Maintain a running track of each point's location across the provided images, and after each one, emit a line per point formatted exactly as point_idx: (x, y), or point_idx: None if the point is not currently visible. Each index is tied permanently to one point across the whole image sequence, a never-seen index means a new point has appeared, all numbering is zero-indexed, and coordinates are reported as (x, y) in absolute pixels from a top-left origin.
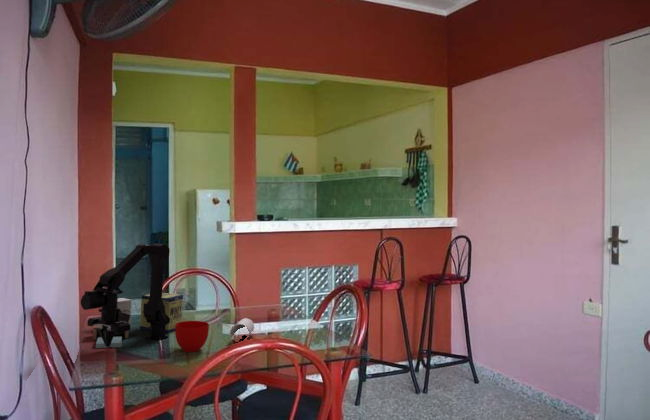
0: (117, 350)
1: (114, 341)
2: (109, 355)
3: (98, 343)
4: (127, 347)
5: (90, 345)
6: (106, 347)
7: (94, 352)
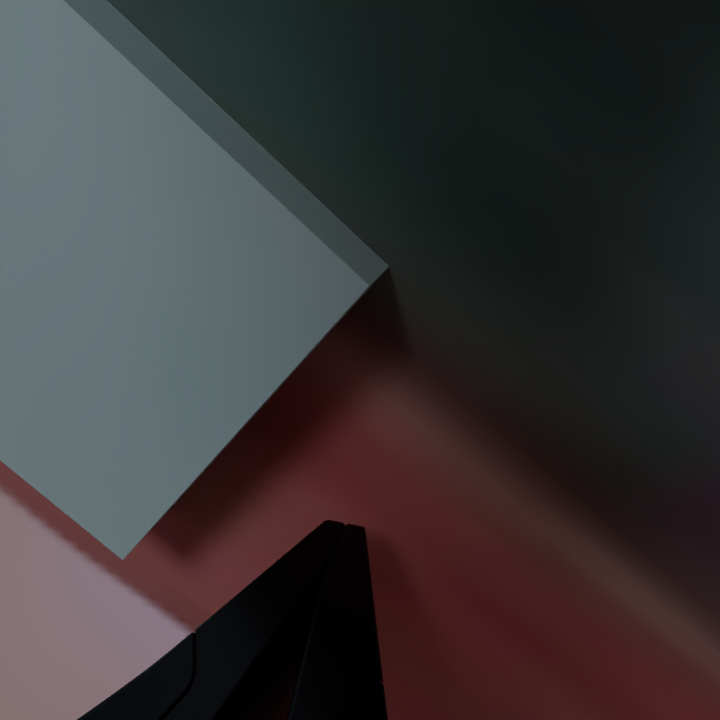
0: (531, 463)
1: (172, 293)
2: (637, 695)
3: (132, 537)
4: (542, 196)
5: None
6: (240, 430)
7: None
